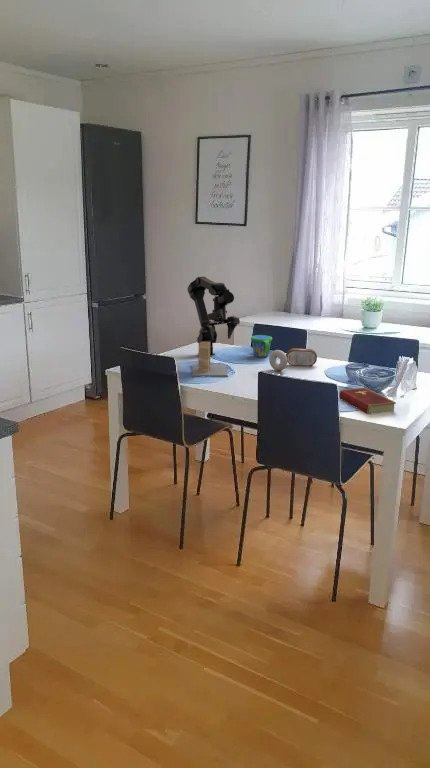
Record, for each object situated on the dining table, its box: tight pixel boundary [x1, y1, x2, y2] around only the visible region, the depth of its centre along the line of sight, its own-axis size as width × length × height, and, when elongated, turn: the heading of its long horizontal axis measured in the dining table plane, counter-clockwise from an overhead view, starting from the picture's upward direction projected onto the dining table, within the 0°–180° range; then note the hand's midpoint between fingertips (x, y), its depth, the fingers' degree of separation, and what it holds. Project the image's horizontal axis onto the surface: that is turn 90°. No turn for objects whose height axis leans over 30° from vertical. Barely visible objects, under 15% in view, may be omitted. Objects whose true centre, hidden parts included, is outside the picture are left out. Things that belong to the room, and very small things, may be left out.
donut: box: [268, 349, 288, 372], centre depth 287 cm, size 10×4×10 cm, turn 46°
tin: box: [285, 347, 318, 367], centre depth 297 cm, size 15×3×8 cm, turn 84°
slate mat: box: [191, 363, 229, 378], centre depth 286 cm, size 20×16×1 cm
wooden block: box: [198, 342, 211, 372], centre depth 283 cm, size 5×4×13 cm
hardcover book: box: [338, 387, 397, 415], centre depth 239 cm, size 12×21×4 cm, turn 19°
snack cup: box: [250, 334, 273, 358], centre depth 315 cm, size 16×10×10 cm
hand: (220, 339), depth 296 cm, fingers open, 9 cm apart
